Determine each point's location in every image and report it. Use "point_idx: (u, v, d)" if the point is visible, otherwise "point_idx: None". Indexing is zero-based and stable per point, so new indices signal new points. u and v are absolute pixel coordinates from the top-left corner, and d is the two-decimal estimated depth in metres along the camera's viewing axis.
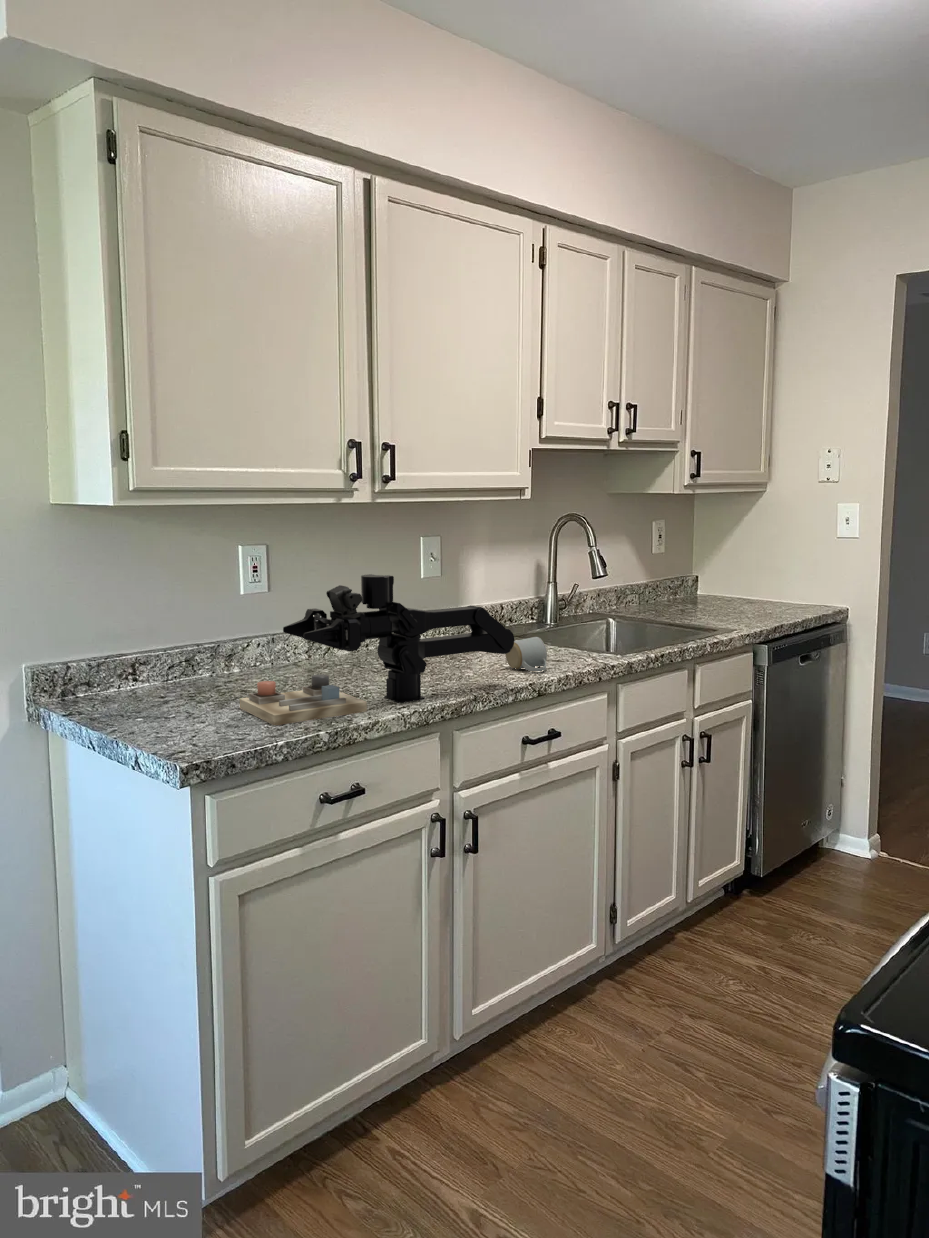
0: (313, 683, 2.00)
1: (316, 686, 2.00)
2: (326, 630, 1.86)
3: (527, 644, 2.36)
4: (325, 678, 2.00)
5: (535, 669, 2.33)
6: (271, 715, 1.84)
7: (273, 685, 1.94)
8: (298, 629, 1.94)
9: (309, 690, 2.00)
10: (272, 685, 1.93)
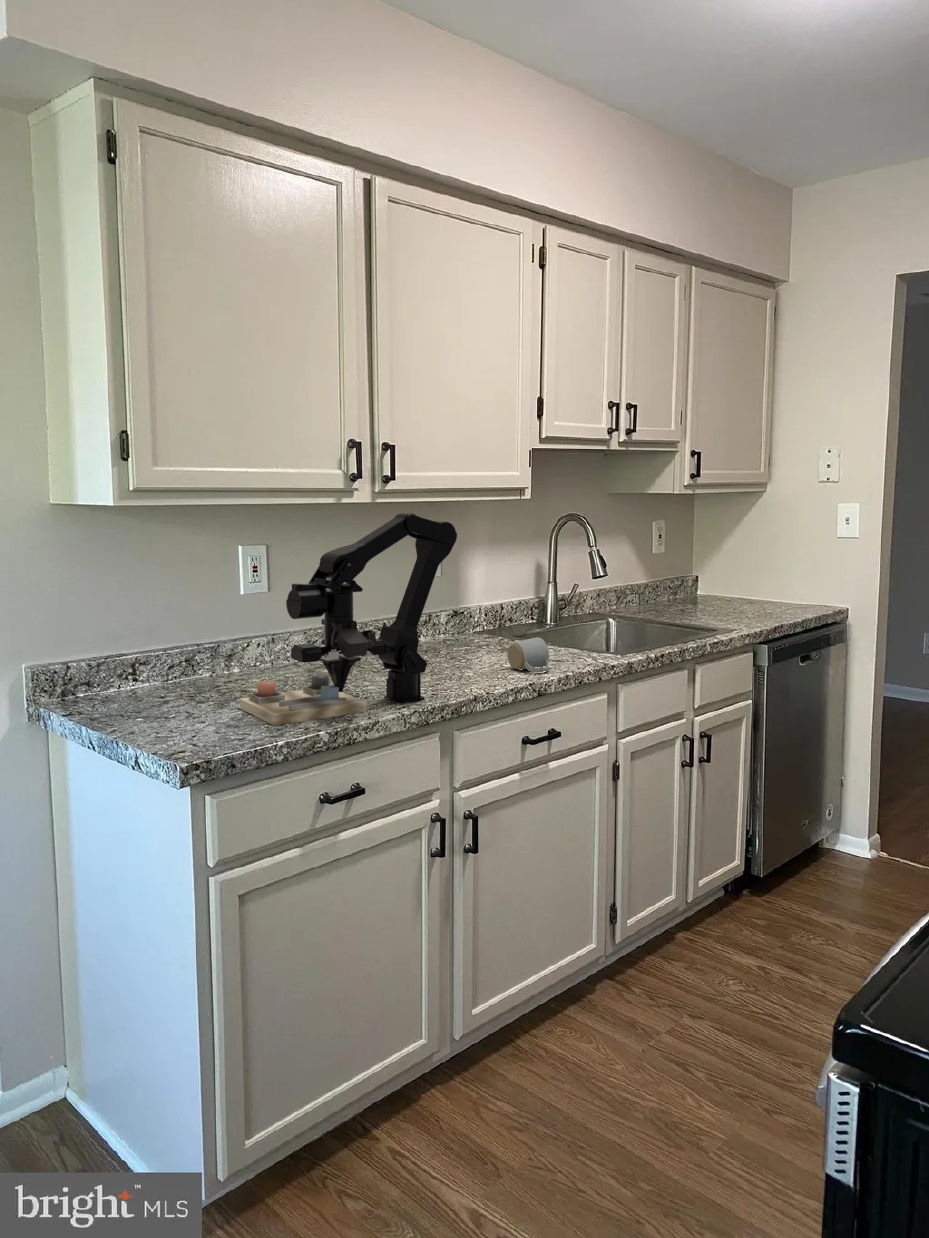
0: (313, 683, 2.00)
1: (316, 686, 2.00)
2: None
3: (529, 645, 2.35)
4: (325, 678, 2.00)
5: (537, 670, 2.32)
6: (271, 715, 1.84)
7: (273, 685, 1.94)
8: None
9: (309, 690, 2.00)
10: (272, 685, 1.93)
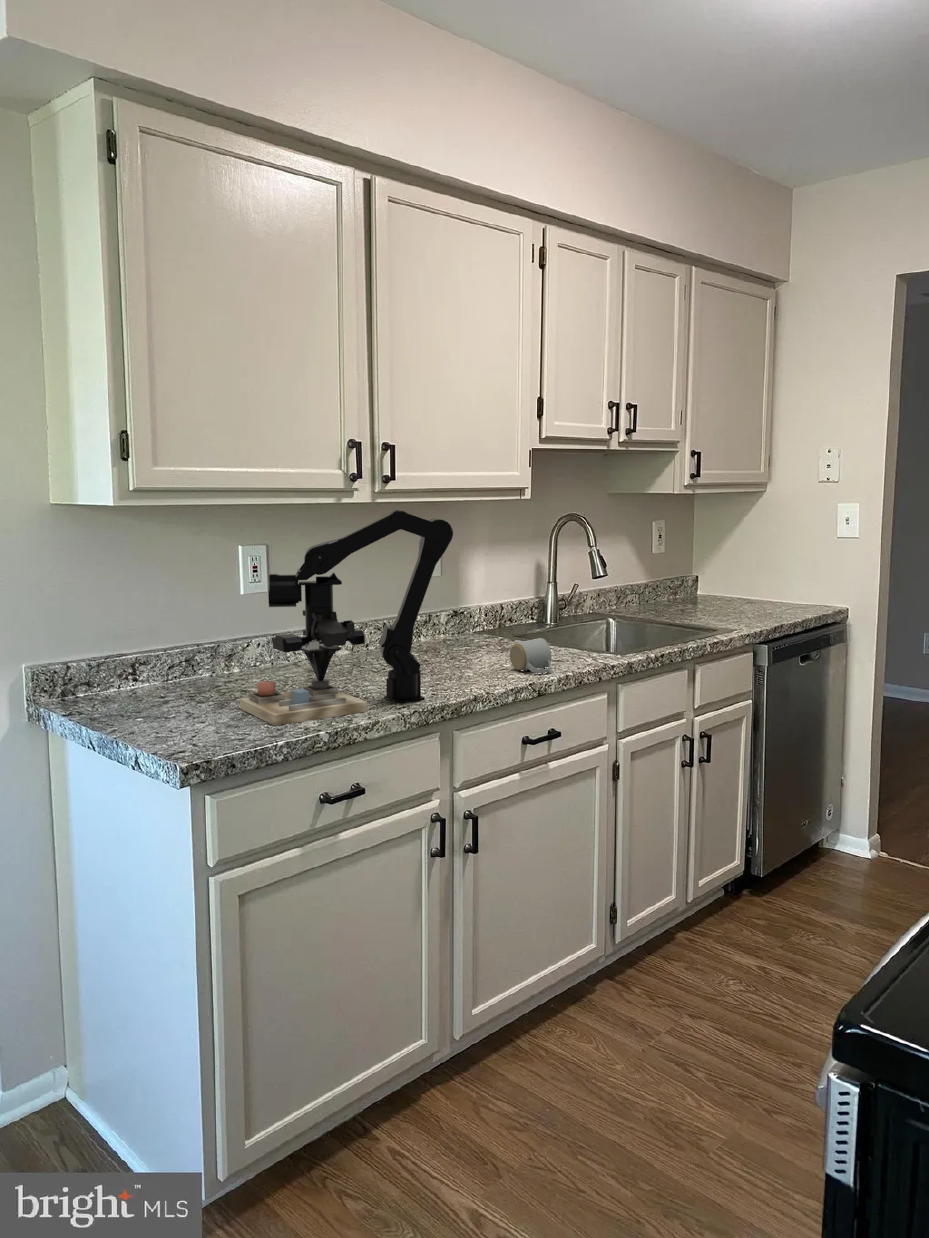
0: (313, 687, 2.00)
1: None
2: None
3: (532, 646, 2.34)
4: (325, 682, 2.00)
5: (540, 671, 2.31)
6: (271, 715, 1.84)
7: (273, 685, 1.94)
8: None
9: (309, 690, 2.00)
10: (272, 685, 1.93)
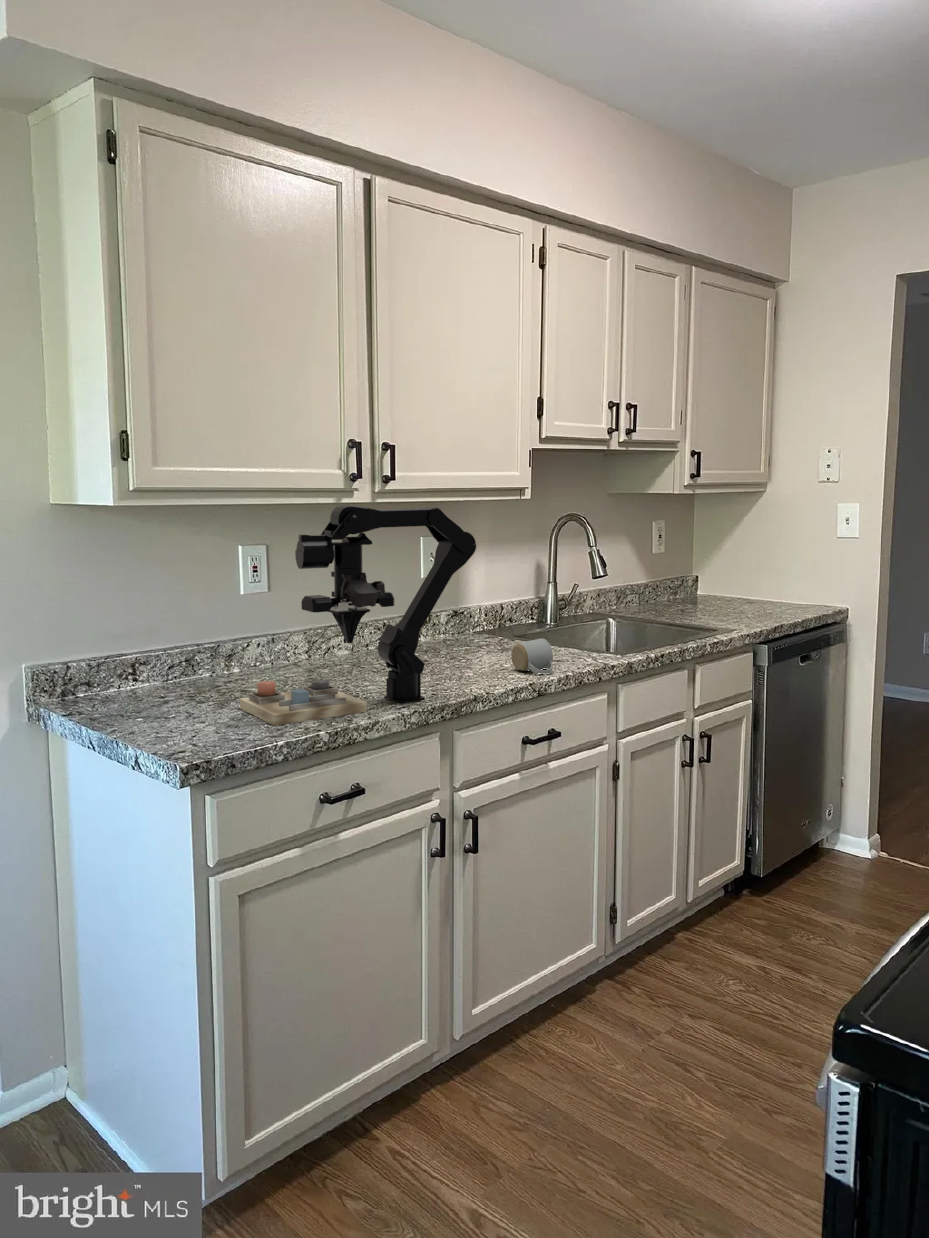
0: (313, 689, 2.00)
1: None
2: None
3: (533, 646, 2.34)
4: (325, 684, 2.00)
5: (541, 671, 2.31)
6: (271, 715, 1.84)
7: (273, 685, 1.94)
8: None
9: (309, 690, 2.00)
10: (272, 685, 1.93)
